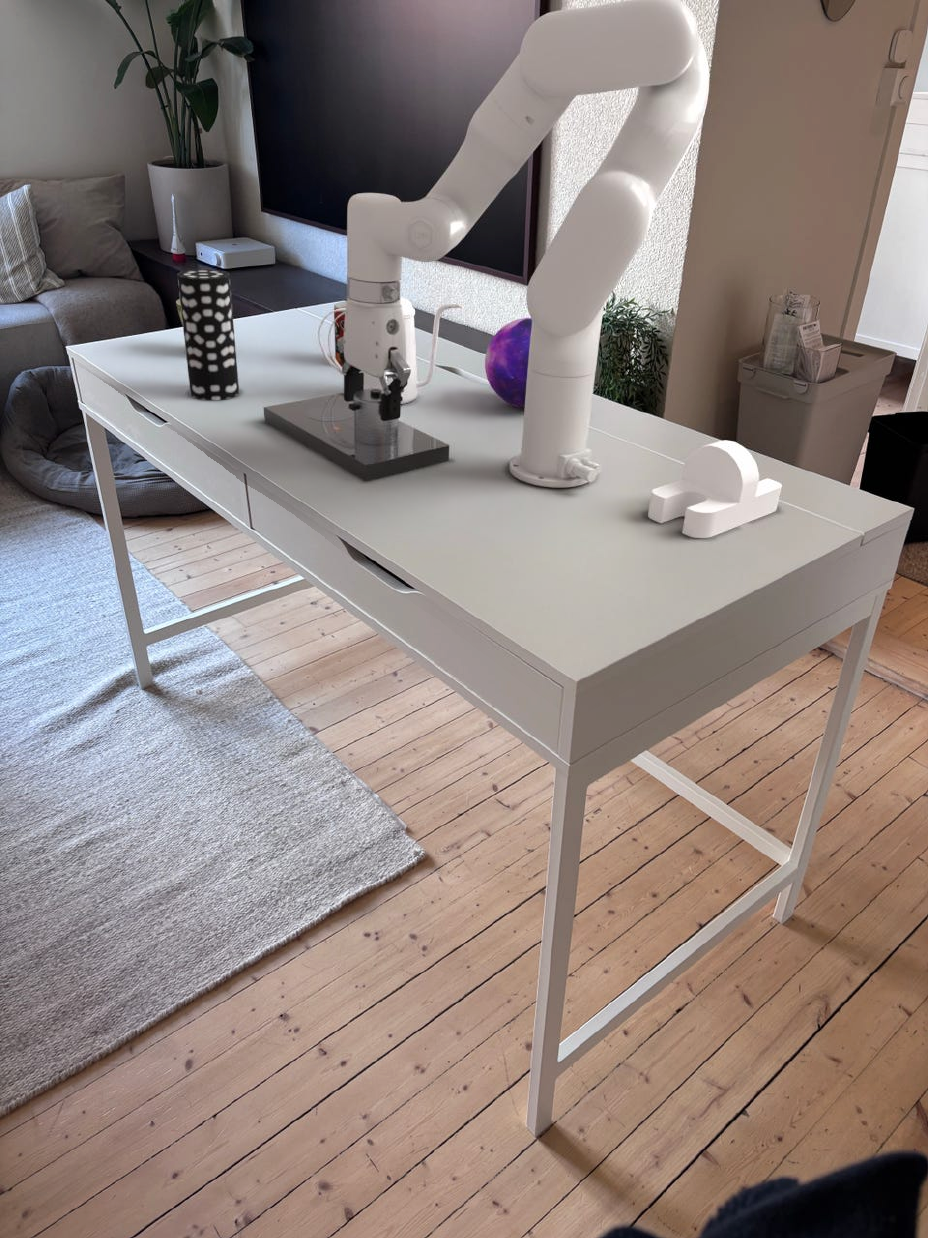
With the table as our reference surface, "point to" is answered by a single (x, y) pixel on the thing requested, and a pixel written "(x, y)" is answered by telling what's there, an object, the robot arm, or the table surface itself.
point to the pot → (372, 419)
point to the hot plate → (332, 436)
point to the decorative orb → (510, 361)
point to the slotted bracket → (716, 491)
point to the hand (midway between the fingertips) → (371, 409)
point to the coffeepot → (412, 382)
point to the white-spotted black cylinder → (209, 333)
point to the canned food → (339, 327)
